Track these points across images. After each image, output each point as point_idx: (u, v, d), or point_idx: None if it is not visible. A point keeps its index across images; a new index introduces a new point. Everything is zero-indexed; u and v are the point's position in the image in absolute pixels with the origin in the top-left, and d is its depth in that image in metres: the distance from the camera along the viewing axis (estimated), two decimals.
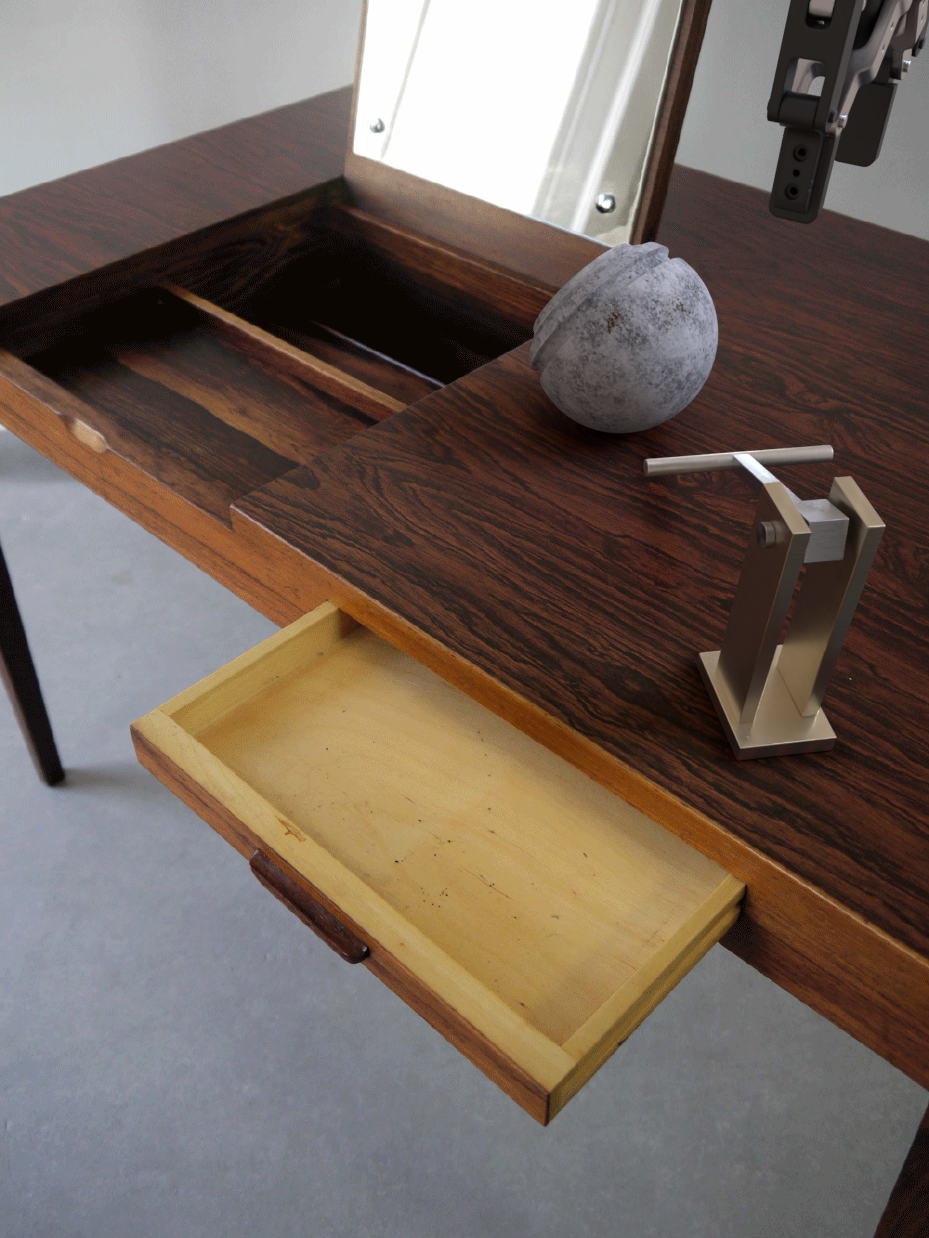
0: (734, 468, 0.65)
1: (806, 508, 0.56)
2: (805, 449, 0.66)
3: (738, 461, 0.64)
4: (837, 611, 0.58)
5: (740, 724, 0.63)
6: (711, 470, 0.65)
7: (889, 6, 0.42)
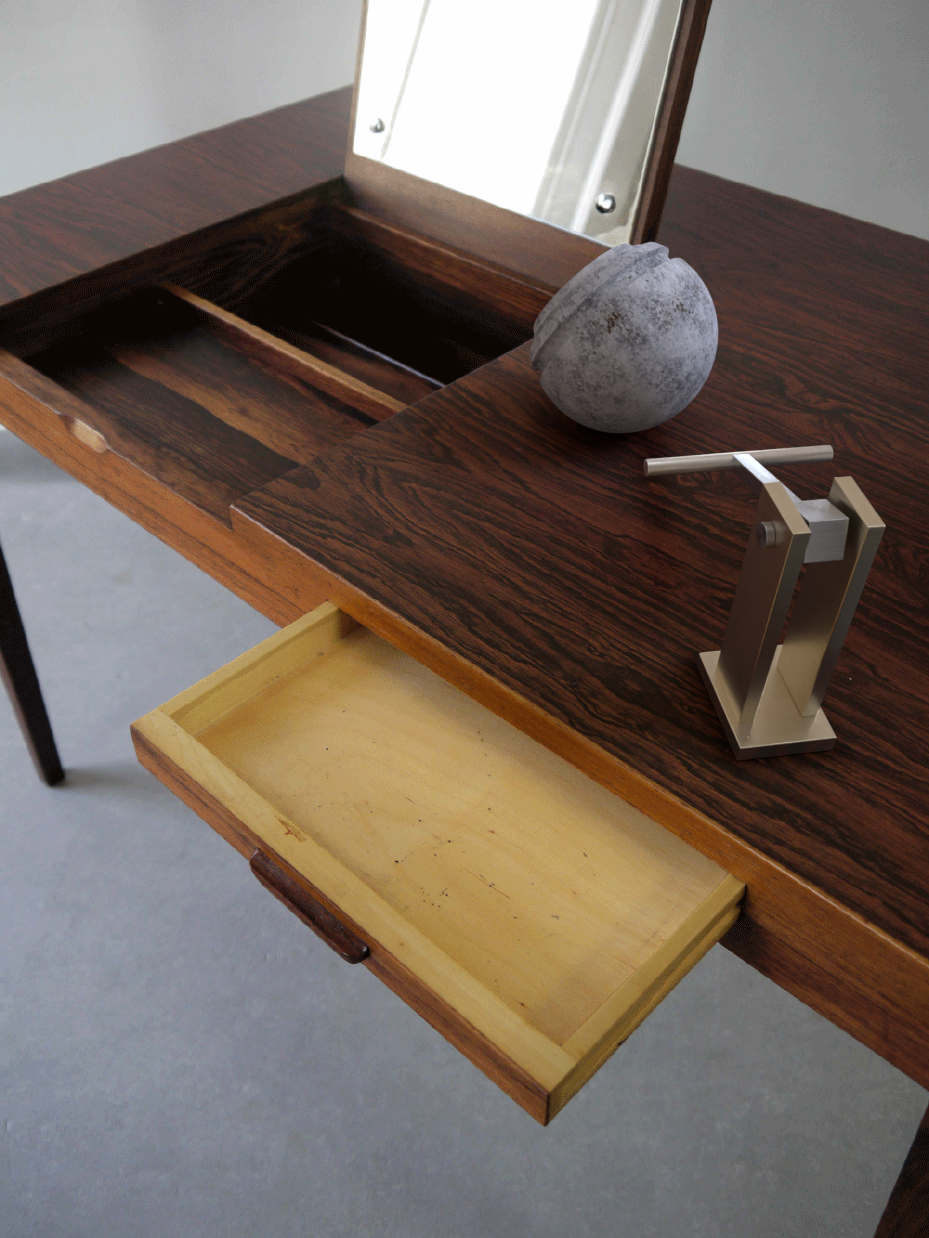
0: (734, 468, 0.65)
1: (806, 508, 0.56)
2: (805, 449, 0.66)
3: (738, 461, 0.64)
4: (837, 611, 0.58)
5: (740, 724, 0.63)
6: (711, 470, 0.65)
7: None
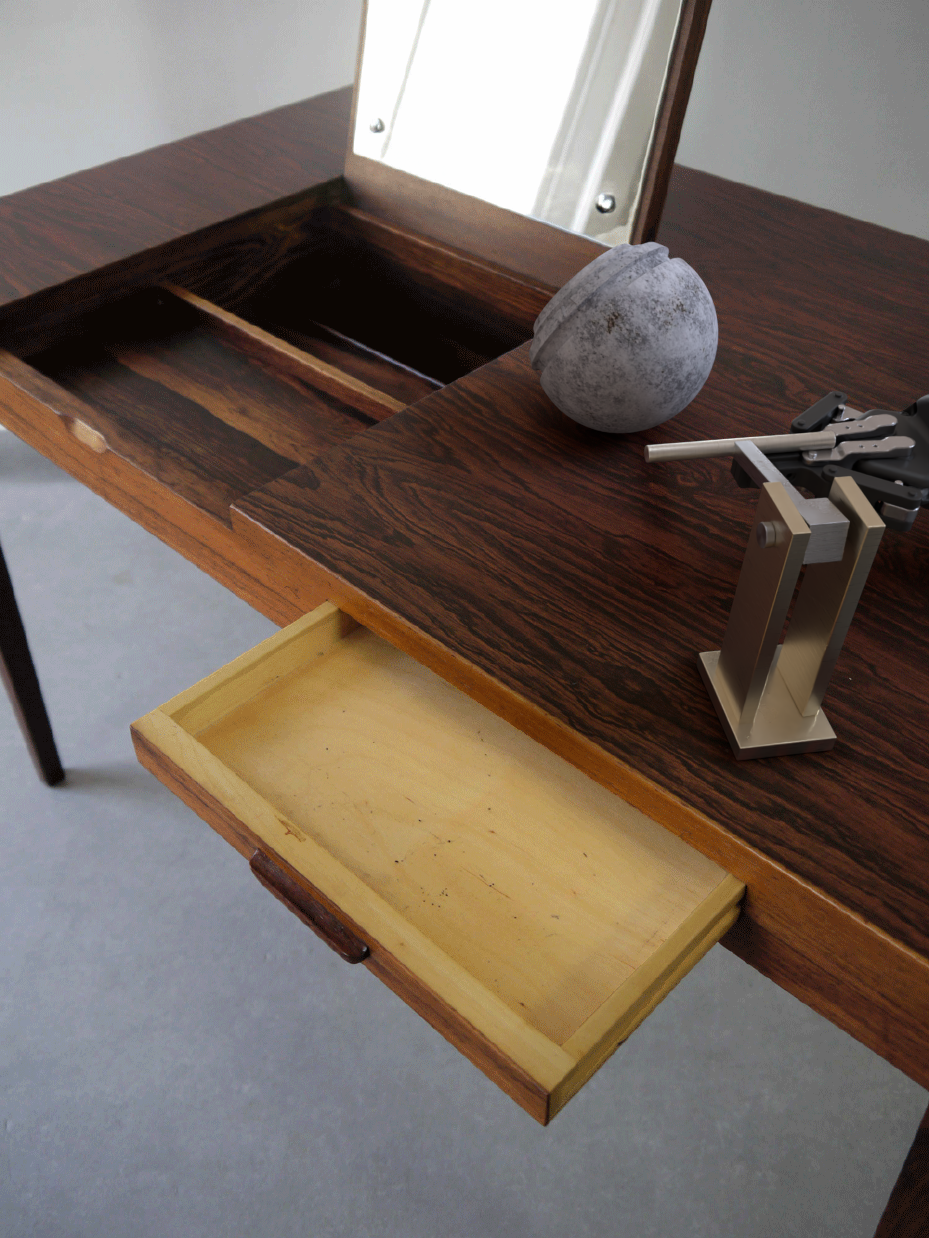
0: (735, 455, 0.65)
1: (807, 508, 0.56)
2: (807, 435, 0.65)
3: (740, 449, 0.64)
4: (837, 611, 0.58)
5: (740, 724, 0.63)
6: (712, 457, 0.65)
7: None
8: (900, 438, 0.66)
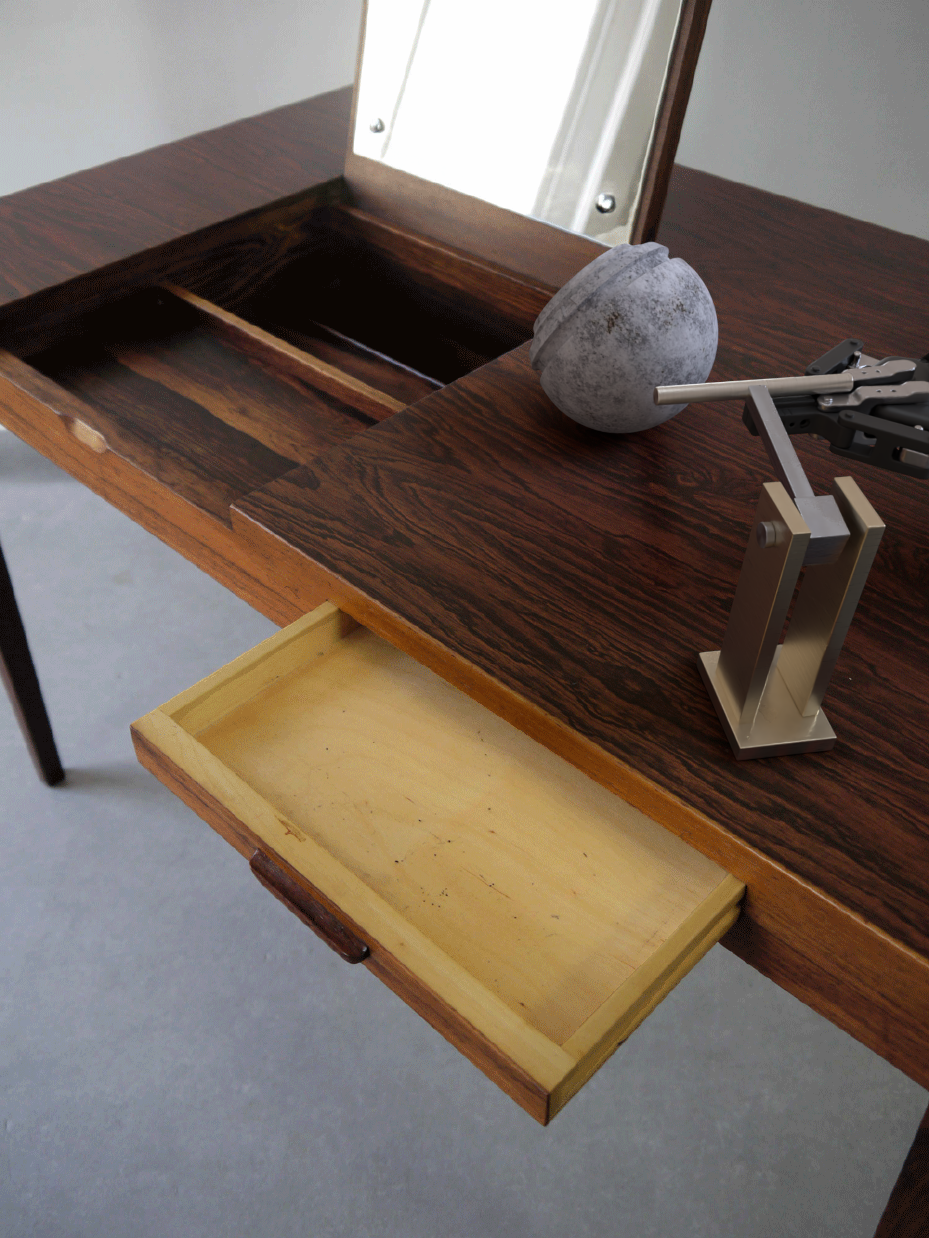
0: (747, 401, 0.62)
1: (811, 512, 0.55)
2: (825, 380, 0.62)
3: (753, 399, 0.61)
4: (837, 611, 0.58)
5: (740, 724, 0.63)
6: (723, 400, 0.62)
7: None
8: (920, 383, 0.63)
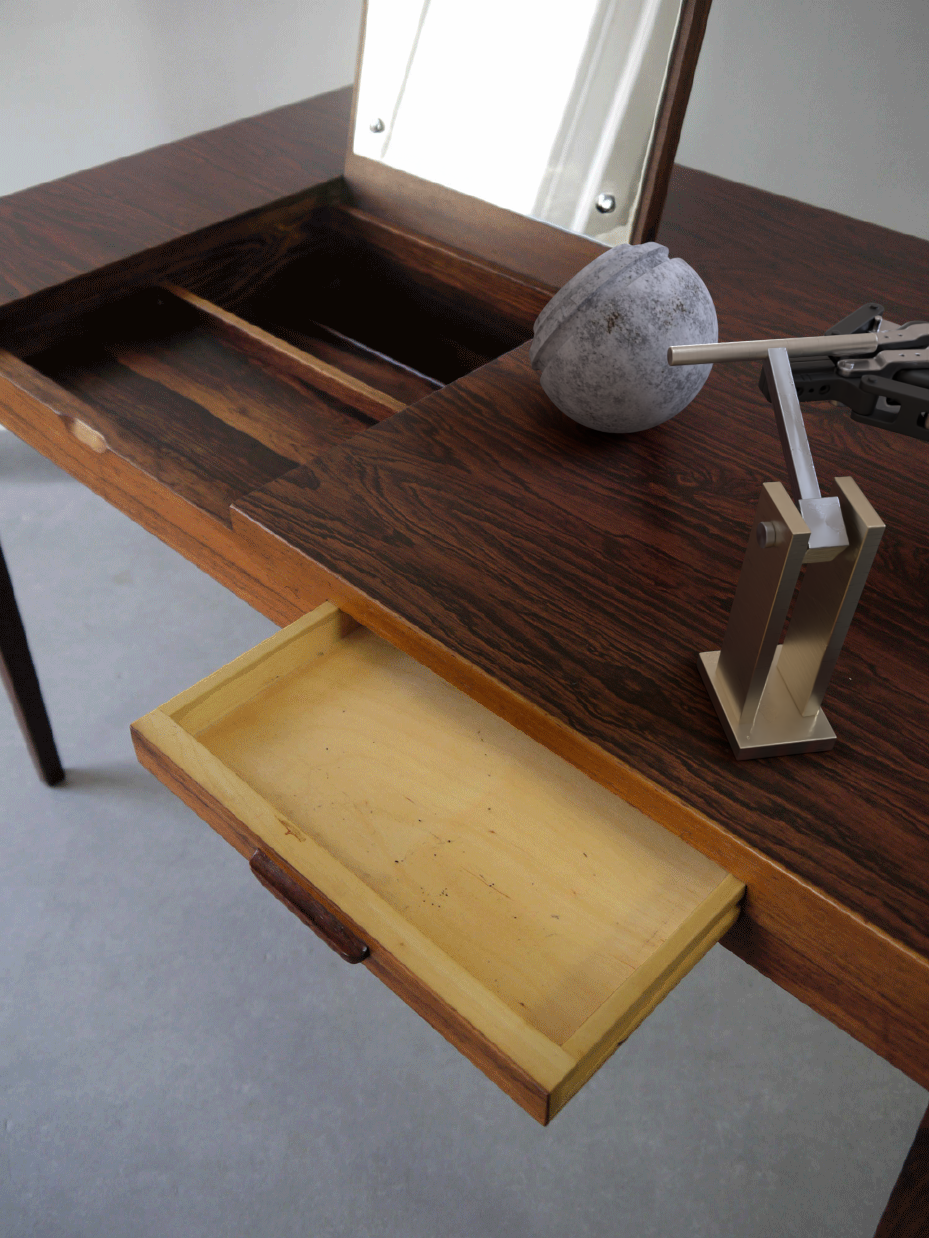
0: (765, 364, 0.59)
1: (813, 517, 0.55)
2: (848, 343, 0.59)
3: (771, 365, 0.58)
4: (837, 611, 0.58)
5: (740, 724, 0.63)
6: (740, 361, 0.59)
7: None
8: None
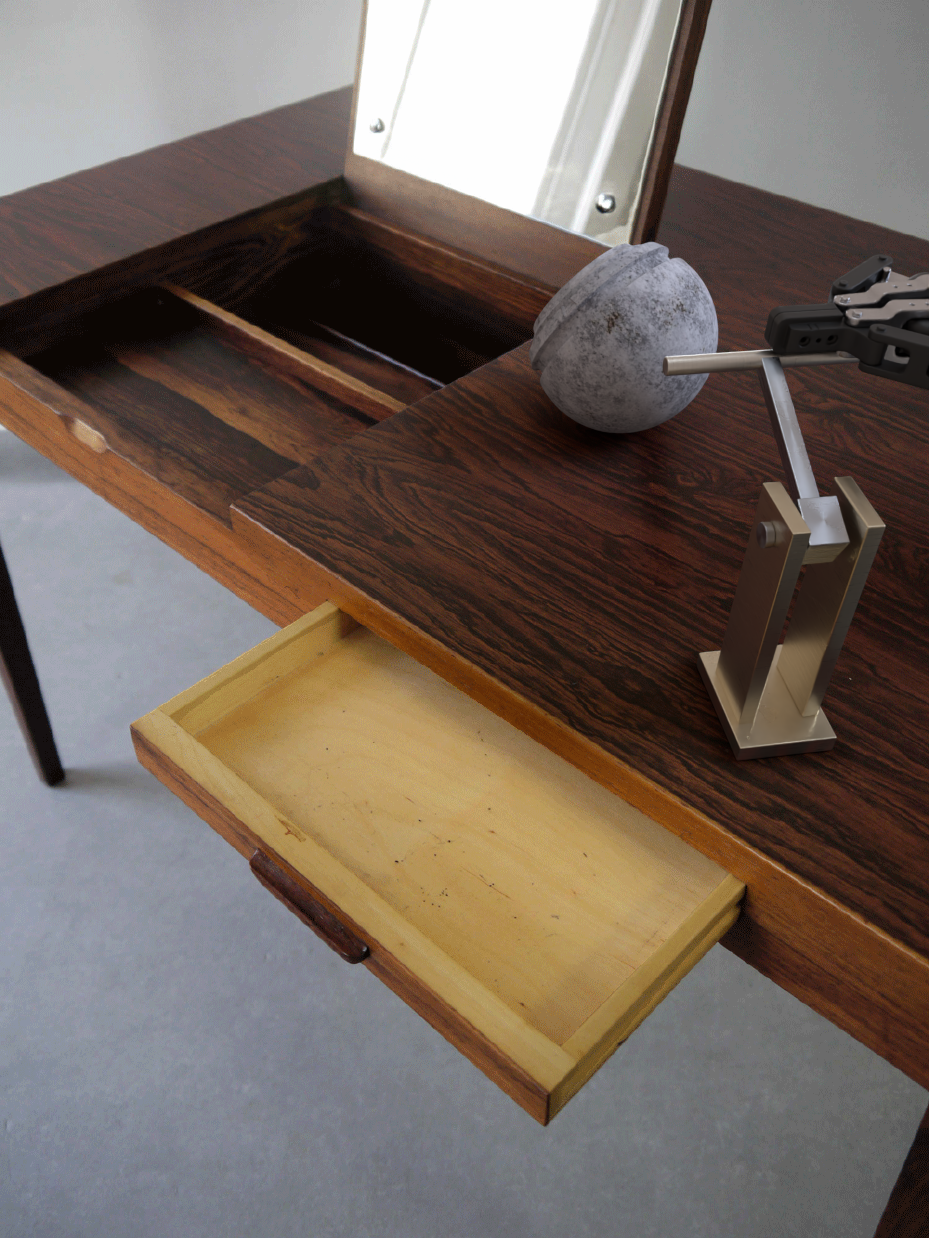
0: (759, 373, 0.60)
1: (813, 515, 0.55)
2: None
3: (765, 373, 0.59)
4: (837, 611, 0.58)
5: (740, 724, 0.63)
6: None
7: None
8: None
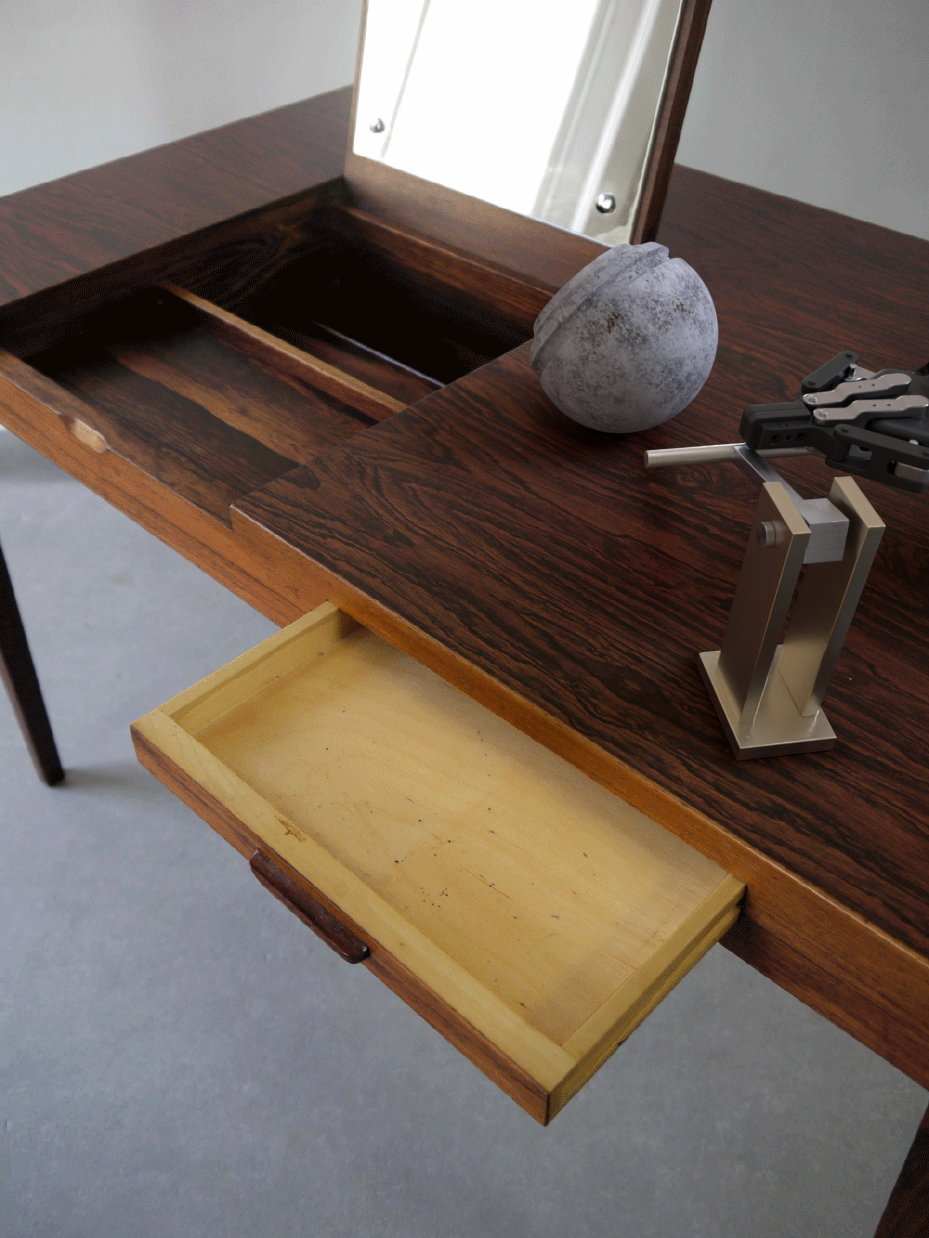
0: (735, 460, 0.65)
1: (807, 508, 0.56)
2: None
3: (739, 454, 0.64)
4: (837, 611, 0.58)
5: (740, 724, 0.63)
6: (712, 462, 0.65)
7: None
8: (914, 397, 0.63)
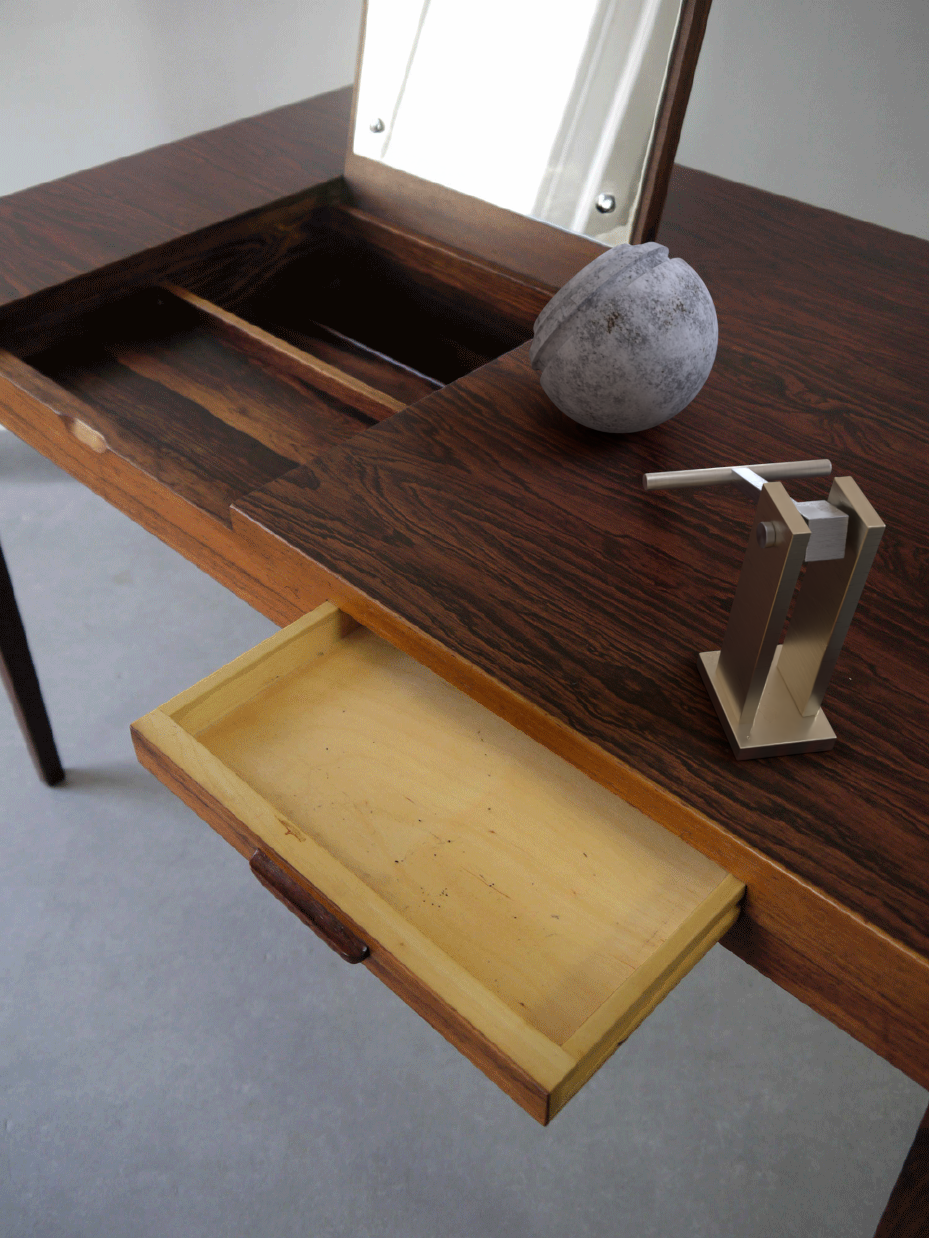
0: (733, 481, 0.65)
1: (805, 508, 0.56)
2: (803, 462, 0.66)
3: (737, 474, 0.65)
4: (837, 611, 0.58)
5: (740, 724, 0.63)
6: (710, 484, 0.66)
7: None
8: None
